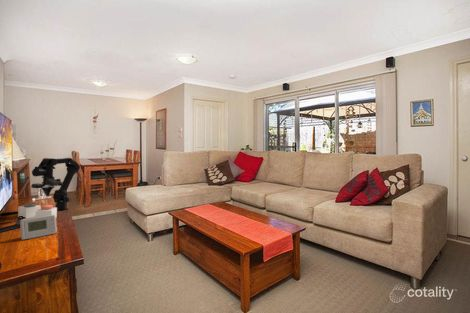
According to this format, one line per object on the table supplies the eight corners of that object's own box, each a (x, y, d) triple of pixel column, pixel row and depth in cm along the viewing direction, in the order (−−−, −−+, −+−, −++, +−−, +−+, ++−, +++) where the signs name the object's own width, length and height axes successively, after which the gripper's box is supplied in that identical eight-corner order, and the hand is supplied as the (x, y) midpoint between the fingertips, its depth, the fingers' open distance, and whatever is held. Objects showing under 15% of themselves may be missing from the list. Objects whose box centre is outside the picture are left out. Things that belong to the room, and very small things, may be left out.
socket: (32, 213, 180) (33, 204, 179) (40, 215, 176) (40, 205, 176) (18, 216, 171) (18, 206, 171) (26, 218, 168) (26, 208, 168)
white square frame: (41, 217, 171) (41, 207, 171) (56, 217, 174) (56, 207, 174) (35, 221, 163) (35, 210, 162) (51, 220, 165) (51, 210, 165)
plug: (32, 213, 178) (32, 202, 178) (37, 214, 175) (37, 203, 175) (21, 215, 172) (21, 204, 172) (27, 217, 170) (27, 205, 169)
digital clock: (19, 241, 129) (20, 221, 129) (19, 236, 136) (20, 217, 136) (57, 235, 140) (58, 216, 140) (55, 231, 147) (56, 213, 146)
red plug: (42, 216, 170) (43, 204, 170) (53, 216, 172) (54, 204, 172) (38, 218, 164) (38, 207, 164) (49, 218, 166) (50, 206, 166)
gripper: (42, 177, 169) (41, 199, 169) (68, 175, 187) (67, 195, 187) (31, 175, 173) (30, 198, 173) (57, 174, 190) (57, 194, 190)
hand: (47, 196), depth 181 cm, fingers closed
